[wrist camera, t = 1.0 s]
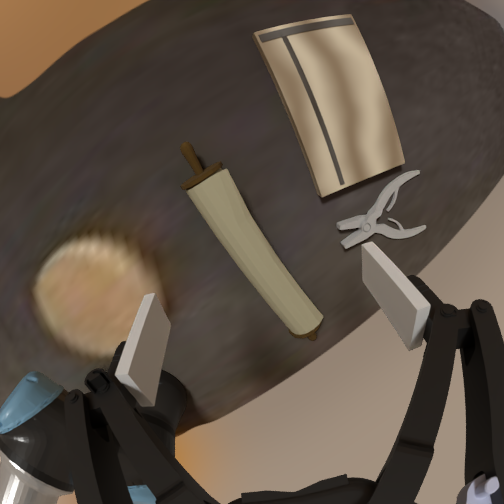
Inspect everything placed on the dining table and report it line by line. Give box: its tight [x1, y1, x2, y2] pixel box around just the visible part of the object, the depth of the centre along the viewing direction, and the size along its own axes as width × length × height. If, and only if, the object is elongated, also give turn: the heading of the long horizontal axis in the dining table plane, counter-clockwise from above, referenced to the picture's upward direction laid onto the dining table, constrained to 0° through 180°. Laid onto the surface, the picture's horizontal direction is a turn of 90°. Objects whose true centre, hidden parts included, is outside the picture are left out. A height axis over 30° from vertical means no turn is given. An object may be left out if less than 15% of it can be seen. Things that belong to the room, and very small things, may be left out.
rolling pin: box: [180, 142, 323, 341], centre depth 33 cm, size 32×6×5 cm, turn 31°
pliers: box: [337, 170, 426, 249], centre depth 36 cm, size 10×2×15 cm
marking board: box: [252, 14, 405, 197], centre depth 28 cm, size 13×21×2 cm, turn 23°
